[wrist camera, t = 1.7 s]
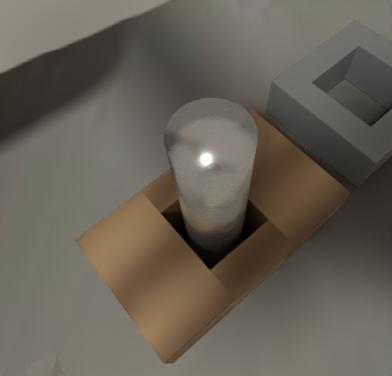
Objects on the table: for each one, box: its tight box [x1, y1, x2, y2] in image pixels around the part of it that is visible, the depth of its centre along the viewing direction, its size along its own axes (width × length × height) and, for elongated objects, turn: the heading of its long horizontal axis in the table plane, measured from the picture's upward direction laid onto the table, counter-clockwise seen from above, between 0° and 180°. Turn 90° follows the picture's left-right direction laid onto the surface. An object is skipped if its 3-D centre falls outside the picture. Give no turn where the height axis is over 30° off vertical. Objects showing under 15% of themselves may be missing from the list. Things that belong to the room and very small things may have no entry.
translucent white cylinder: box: [164, 98, 258, 264], centre depth 27 cm, size 5×5×18 cm
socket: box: [266, 20, 392, 187], centre depth 39 cm, size 13×13×5 cm
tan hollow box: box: [75, 108, 351, 363], centre depth 33 cm, size 12×20×6 cm, turn 130°
